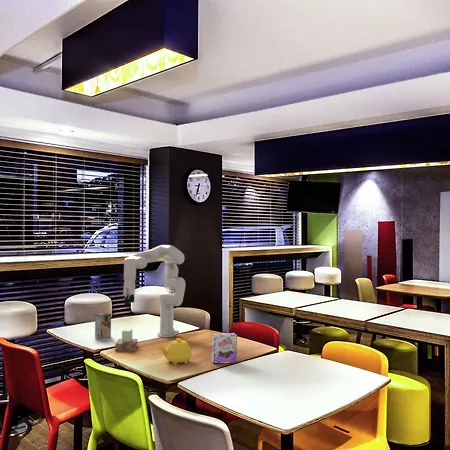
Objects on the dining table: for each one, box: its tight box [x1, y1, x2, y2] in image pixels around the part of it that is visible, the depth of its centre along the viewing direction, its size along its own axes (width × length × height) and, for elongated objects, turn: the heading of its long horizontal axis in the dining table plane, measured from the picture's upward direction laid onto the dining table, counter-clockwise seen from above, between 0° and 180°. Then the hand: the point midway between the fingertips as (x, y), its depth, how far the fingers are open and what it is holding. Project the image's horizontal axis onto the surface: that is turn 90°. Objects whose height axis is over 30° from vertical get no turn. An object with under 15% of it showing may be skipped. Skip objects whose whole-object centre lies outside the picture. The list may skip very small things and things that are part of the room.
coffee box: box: [94, 312, 112, 340], centre depth 318 cm, size 9×6×16 cm
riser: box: [114, 338, 138, 352], centre depth 291 cm, size 12×12×5 cm
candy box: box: [210, 332, 238, 364], centre depth 266 cm, size 14×6×16 cm, turn 105°
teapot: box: [158, 337, 193, 365], centre depth 263 cm, size 20×16×14 cm
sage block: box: [121, 328, 133, 342], centre depth 291 cm, size 5×5×7 cm
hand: (129, 303), depth 293 cm, fingers open, 9 cm apart
